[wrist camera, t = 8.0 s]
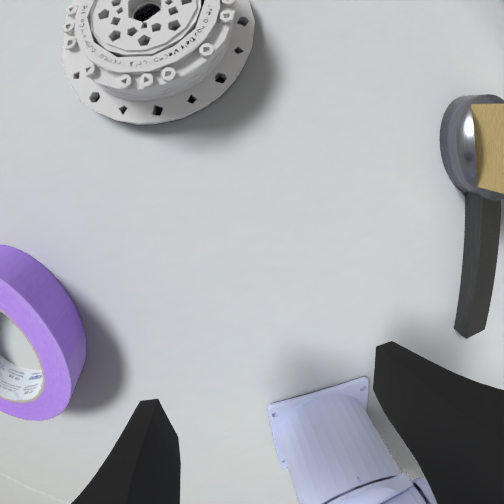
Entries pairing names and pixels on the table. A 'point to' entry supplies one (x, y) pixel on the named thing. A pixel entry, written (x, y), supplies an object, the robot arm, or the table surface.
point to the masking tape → (39, 338)
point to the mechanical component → (154, 55)
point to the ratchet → (472, 214)
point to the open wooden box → (489, 145)
